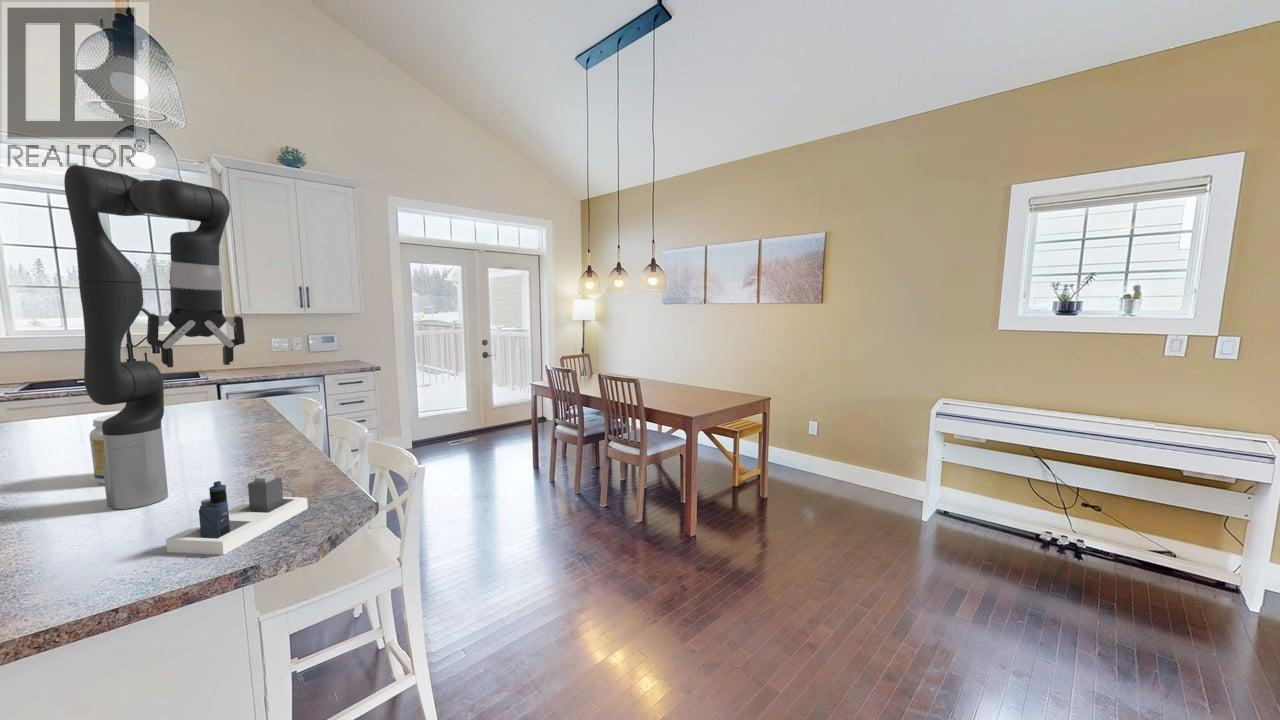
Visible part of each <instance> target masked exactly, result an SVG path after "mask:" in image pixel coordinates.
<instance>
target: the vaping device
mask: <svg viewBox="0 0 1280 720" xmlns="http://www.w3.org/2000/svg"><path fill="white" fill-rule="evenodd" d="M208 489H209V490H208V491H209V498H205V499H202V500H201V502H200V504H201V505H200V506H199V509H198V520H199V524H200V530H201V538H215V539H218V538H220V537H222V536H224V535H226V534H227V533H229V532H230V524H229V512H228V511H229V504H228V496H227V491H226V490H227V485H226V484H222V482H221V481H220V480H219V481H214V482H213V486H210V487H209V488H208Z"/></svg>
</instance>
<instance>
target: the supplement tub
mask: <svg viewBox="0 0 1280 720" xmlns="http://www.w3.org/2000/svg"><path fill="white" fill-rule="evenodd" d="M116 414H117V413H113V414H108V415H101V416H98V417H95V418H93V420H92V421H93V424H92V426H93V427H94V429H92V430H91V431H90V433H89V443H90V450H91V457H92V459H91V460H92V467H93V473H94V474H93V475H94V480H95V482H97V484H101V485H105V482H104V473H103V466H104V465H106V458H105V449H104V441H103V432H102V424H103V422H104V421H105V420H107V419H109V418H111V417H113V416H114V415H116Z"/></svg>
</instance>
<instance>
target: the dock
mask: <svg viewBox="0 0 1280 720" xmlns="http://www.w3.org/2000/svg"><path fill="white" fill-rule="evenodd" d="M308 503H309V502H308V497H301V496H298V497H295V496H283V506H281V507H279V508H277V509H275V510H273V511H271V512H269V513H262V512H250V505H249V501H247V502H244V503H241V504H240V505H238V506H236V507H233V508H232V509H228V512H229V524H230V532H229V533H227V534H226V535H224V536H222V537H220V538H218V539H215V538H201V530H200V523H198V524H196V525H194V526H192V527H190V528H187V529H185V530H183V531H181V532H178V533H176V534H174V535H172V536H170V537H167V538H166V539H165V545H166V553H172V554H173V553H175V554H176V553H177V554H193V555H194V554H197V555H214V556H215V555H219V556H225V555H226V554H227V553H230V552H231V551H233V550H236V549H237V548H239V547H240V546H242V545H244V544H246V543H248V542H249V541H251V540H253V539H255V538H257V537H259V536H261V535H263V534H264V533H266V532H268V531H271V529H273V528H275V527H277V526H279V525H281V524H282V523H284V522H287V521H289V519H292V518H294V517H295V516H297V515H299V514H301V513H302V512H304V511H306V510H307V509H309V508H308V507H309V506H308V505H309V504H308Z"/></svg>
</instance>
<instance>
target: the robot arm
mask: <svg viewBox="0 0 1280 720" xmlns="http://www.w3.org/2000/svg"><path fill="white" fill-rule="evenodd" d="M63 183H64V184H63V185H64V193H65V197H66V203H67V207H68V208H67V209H68V212H69V217H70V221H71V225H72V229H73V235H74V240H75V248H76V249H75V250H76V258H77V259H76V260H77V274H78V275H77V276H78V287H79V296H80V301H81V307H82V308H81V310H82V314H83V327H84V362H83V363H84V368H83V369H84V372H83V374H84V376H83V377H84V386H85V390H86V392H87V395H88V397H89V398H90V399H91V401H93V402H94V403H95V404H97V405H101V406H109V405H119V404H124V403H125V406H124V407H123V408H122V409H121V410H120V411H119V412H117V413H115V414H116V415H114V416H113V417H111V418H109V419H107V420H105V421H104V422H103V424H102V432H103V441H104V449H105V458H106V465H104V466H103V473H104V482H105V484H104V489H105V497H106V498H105V499H106V506H107V507H110V508H111V509H114V510H126V509H129V510H130V509H134V508H139V507H145V506H149V505H153V504H155V503H158V502H161V501H163V500H165V499H167V498H168V497H169V490H168V478H167V470H166V458H165V448H164V447H165V446H164V439H163V427H162V419H163V418H164V414H165V404H164V403H165V400H164V397H165V396H164V395H165V394H164V393H165V391H164V379H163V376H162V375H163V374H162V372H161V371H160V369H159V367H158V366H157V365H156V364H154V363H153V362H151V361H149V360H131V361H121V359H122V358H121V357H122V356H121V353H122V352H121V350H122V343H123V340H124V337H125V335H126V333H127V332H128V331H129V329H130V328H131V326H132V325H133V323H134V322H135V321H136V319H137V318H138V316H139V315H140V312H141V311H142V308H143V306H144V297H143V296H144V292H143V284H142V283H143V282H142V277H141V274H140V272H139V270H138V269H137V268H136V267H135V265H134V264H133V263H132V262H131V261H130V260H129V259H128V258H127V257H126V256H125V254H123V252H121V250H119V248H118V247H117V246H116V245H115V244H114V243H113V242H112V241H111V239H110V238H109V237H108V235H107V233H106V232H105V229H104V227H103V225H102V222H101V220H100V219H101V218H100V215H99V214H100V213H101V214H106V215H113V216H122V217H133V216H134V217H136V216H141V215H147V214H149V215H152V216H159V217H166V218H175V219H182V220H189V221H195V222H200V223H199V226H198V227H197V229H196V230H193V231H176V232H173V233H171V235H170V239H169V240H170V241H169V243H170V244H169V245H170V249H169V250H170V267H169V268H170V269H169V279H168V280H169V281H168V282H169V288H170V289H169V291H170V293H169V294H170V313H169V314H168V315H164V314H163V315H158V314H155V313H150V314H148V315H147V328H146V330H147V331H146V333H147V334H146V342H147V344H148V345H150V346H151V347H158V348H160V353H161V354H160V355H161V356H160V357H161V359H160V360H161V362H162V364H163V365H165V366H166V367H167V368H174V353H173V352H174V351H173V348H172V347H173V346H174V345H175V344H176V343H177V342H179V340H181V339H182V337H184V336H185V337H188V338H196V337H205V338H211V337H212V336H215V338H217V339H218V340H219V341H220V342H221V343H222V344H223V346H222V364H223V365H224V366H230V364H231V363H233V362H234V360H235V358H234V357H235V356H234V348H235V347H237V346H241V345H244V344H245V342H246V340H245V329H244V328H245V327H244V320H243V318H242V317H241V316H239V315H233V316H225V315H224V314H223V283H222V278H223V277H222V273H221V266H220V263H221V262H220V245H221V244H220V243H221V241H222V238H223V233H224V230H225V227H226V224H227V223H228V219H229V216H230V211H231V207H230V202H229V200H228V198H227V196H226V195H225V193H224V192H223V191H221V190H219V189H218V188H215V187H210V186H205V185H200V184H196V183H191V182H188V181H187V182H186V181H182V180H177V179H169V178H163V179H159V180H156V179H155V180H154V179H143V180H141V179H138V178H135V177H133V176H130V175H127V174H124V173H120V172H115V171H111V170H106V169H102V168H101V169H100V168H94V167H91V166H90V167H89V166H85V165H79V164H76V165H75V164H73V165H70V166H68V167H67V169H66V171H65V174H64V180H63ZM165 322H169V323H170V324H171V325H172V326H173V327H174V328H173V330H171V331H170V333H168V335H167V336H166V337H165V338H164V339H163V340H161V339H159V332H160V330H159V328H160V327H162V326H164V325H165ZM226 322H227V323H228V325H229V326H230V327H233V336H234V337H233V338H232V339H230V338H229V337H228V336H227V335H226V334H225V333H224V332H222V330H221V328H222V327H223V325H224V324H226Z"/></svg>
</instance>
